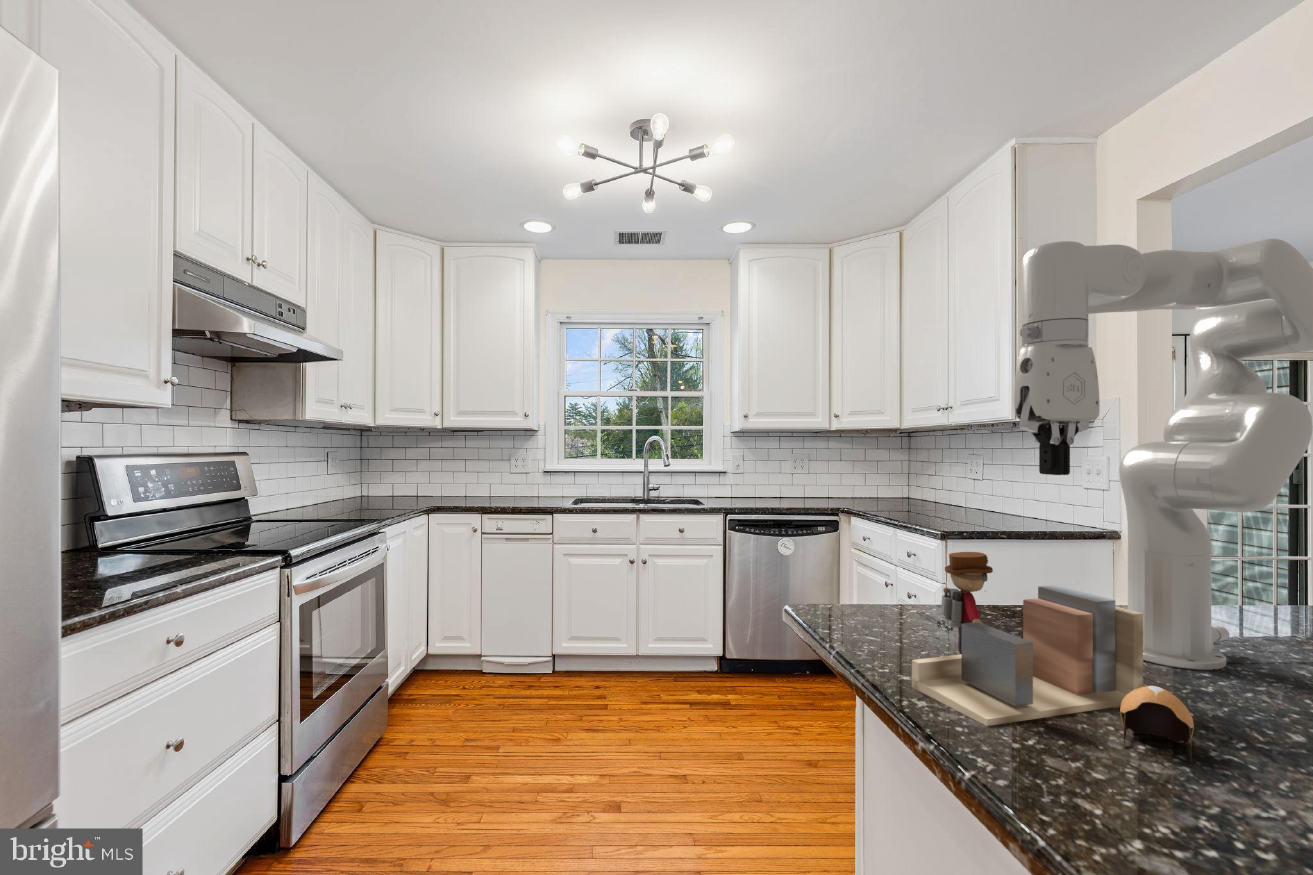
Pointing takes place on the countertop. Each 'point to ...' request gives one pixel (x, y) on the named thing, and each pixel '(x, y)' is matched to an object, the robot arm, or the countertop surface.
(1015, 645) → the bookend
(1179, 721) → the helmet
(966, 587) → the toy
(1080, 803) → the countertop surface
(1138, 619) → the book rack
